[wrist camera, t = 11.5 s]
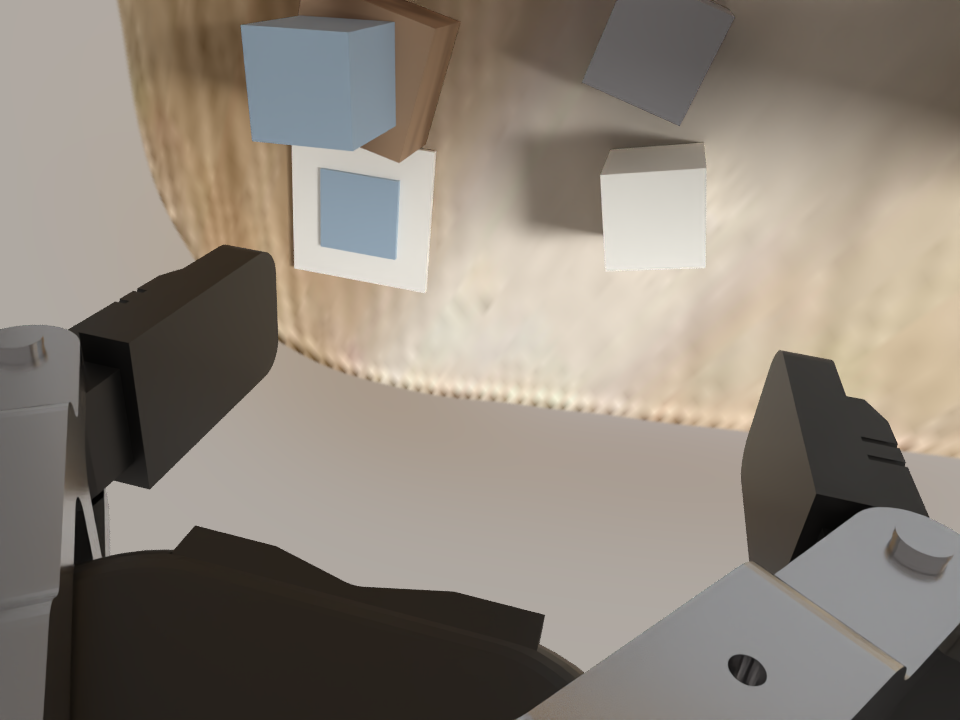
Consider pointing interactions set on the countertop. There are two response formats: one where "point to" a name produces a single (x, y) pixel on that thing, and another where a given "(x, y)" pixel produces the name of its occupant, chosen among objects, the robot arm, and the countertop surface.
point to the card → (363, 215)
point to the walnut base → (403, 64)
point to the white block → (654, 207)
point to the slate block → (320, 80)
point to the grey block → (658, 53)
